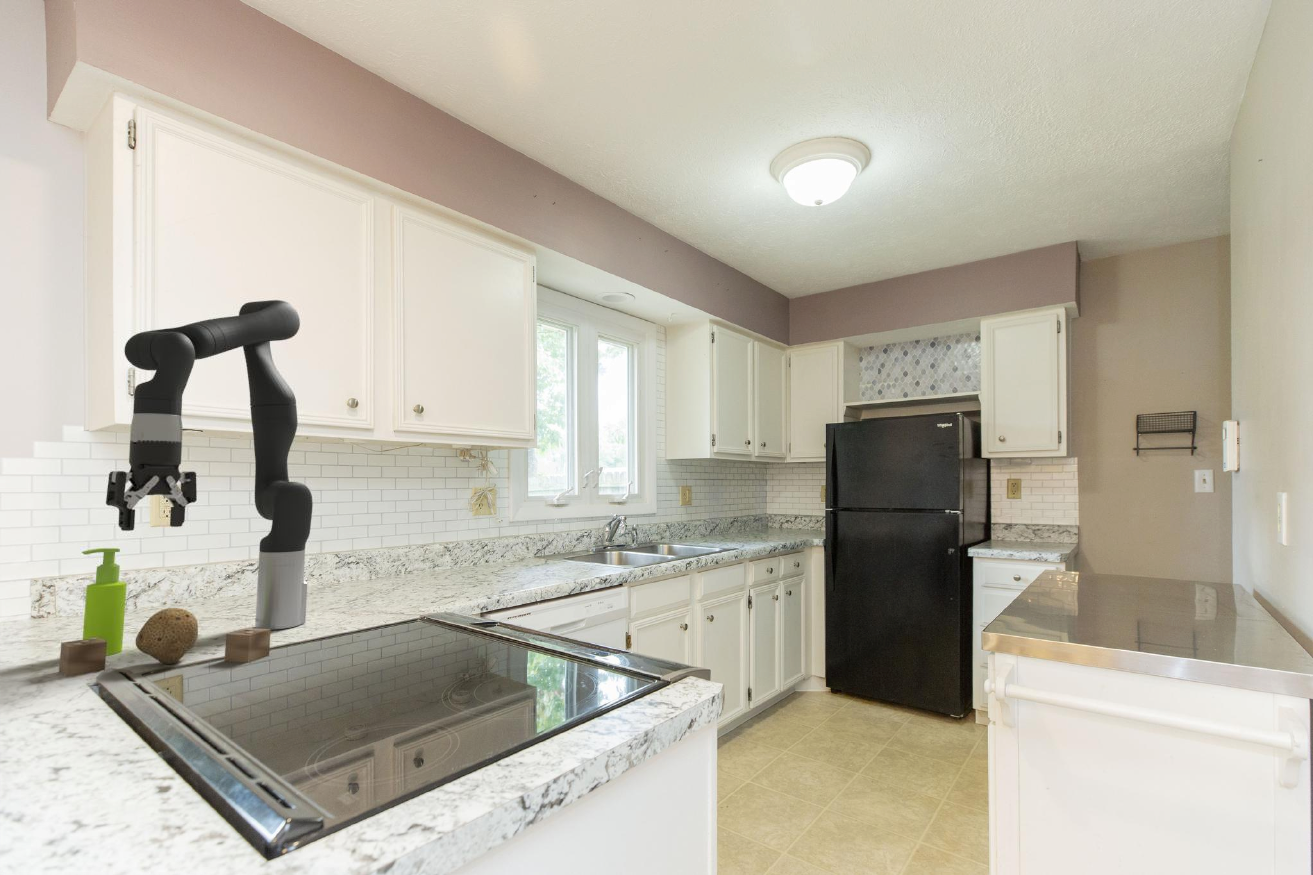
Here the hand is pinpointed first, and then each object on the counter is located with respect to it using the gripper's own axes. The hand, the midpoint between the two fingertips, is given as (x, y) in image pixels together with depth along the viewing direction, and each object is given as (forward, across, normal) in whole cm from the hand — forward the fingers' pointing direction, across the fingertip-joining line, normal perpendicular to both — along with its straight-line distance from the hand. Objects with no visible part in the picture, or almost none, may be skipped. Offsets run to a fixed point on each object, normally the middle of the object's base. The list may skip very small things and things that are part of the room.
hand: (152, 528), depth 115 cm
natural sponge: (+25, -2, +2) cm, 25 cm away
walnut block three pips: (+24, +6, -7) cm, 26 cm away
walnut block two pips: (+25, -9, +13) cm, 29 cm away
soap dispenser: (+25, -3, -17) cm, 30 cm away
